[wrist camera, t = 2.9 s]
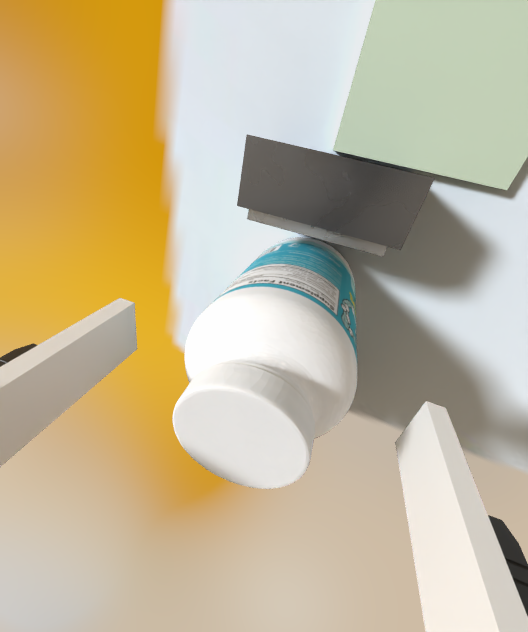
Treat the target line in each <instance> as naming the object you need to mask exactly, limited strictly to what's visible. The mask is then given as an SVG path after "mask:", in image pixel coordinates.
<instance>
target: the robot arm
mask: <svg viewBox="0 0 528 632" xmlns="http://www.w3.org/2000/svg"><path fill="white" fill-rule="evenodd" d="M135 350H137V339H136V322H135V303H133V302H130V301H127V300H125V299H121V298H119V299H117V300H115V301H114V302H112V303H110V304H109V305H107V306H105V307H103V308H102V309H100V310H98V311H96V312H95V313H93V314H91V315H89V316H88V317H86V318H85V319H83V320H81V321H79V322H77V323H76V324H74V325H72V326H70V327H69V328H67V329H65V330H64V331H62V332H60V333H58V334H57V335H55V336H53V337H52V338H50V339H48V340H46V341H44V342H43V343H41V344H39V345H36V344H31V345H27V346H25V347H21V348H18V349H15V350H13V351H11V352H10V353H8V354H6V355H4V356H2V357H1V358H0V467H1V466H2V465H3V464H4V463H6V462H7V461H8V460H9V459H10V458H11V457H12V456H14V455H15V454H16V453H17V452H18V451H19V450H21V449H22V448H23V447H24V446H25V445H26V444H28V443H29V442H30V441H31V440H32V439H33V438H34V437H36V436H37V435H38V434H39V433H40V432H41V431H43V430H44V429H45V428H46V427H47V426H48V425H49V424H51V423H52V422H53V421H54V420H55V419H57V418H58V417H59V416H60V415H61V414H62V413H63V412H65V411H66V410H67V409H68V408H69V407H70V406H72V405H73V404H74V403H75V402H76V401H77V400H78V399H80V398H81V397H82V396H83V395H84V394H86V393H87V392H88V391H89V390H90V389H91V388H92V387H94V386H95V385H96V384H97V383H98V382H99V381H101V380H102V379H103V378H104V377H105V376H106V375H108V374H109V373H110V372H111V371H112V370H113V369H115V368H116V367H117V366H118V365H119V364H120V363H121V362H123V361H124V360H125V359H126V358H127V357H128V356H129V355H131V354H132V353H133V352H134V351H135ZM395 444H396V449H397V456H398V462H399V468H400V474H401V481H402V487H403V494H404V500H405V506H406V512H407V518H408V524H409V530H410V537H411V544H412V550H413V556H414V561H415V568H416V575H417V581H418V587H419V593H420V600H421V606H422V612H423V618H424V625H425V631H426V632H528V564H527V562H526V559H525V557H524V555H523V552H522V550H521V548H520V546H519V543H518V542H517V541H516V539H515V538H514V536H513V535H512V534H511V532H510V531H509V529H508V528H507V526H506V525H505V524H504V522H503V521H502V520H500V519H497V518H494V517H491V516H489V515H488V514H487V512H486V509H485V507H484V504H483V501H482V499H481V496H480V494H479V491H478V489H477V486H476V484H475V481H474V478H473V476H472V473H471V471H470V468H469V466H468V463H467V461H466V458H465V455H464V453H463V450H462V448H461V445H460V443H459V440H458V437H457V435H456V432H455V430H454V427H453V425H452V422H451V420H450V417H449V414H448V412H447V409H446V408H445V407H442V406H439V405H436V404H433V403H430V402H427V401H426V402H425V403H424V404H423V406H422V407H421V408H420V410H419V411H418V412H417V414H416V415H415V416H414V418H413V419H412V421H411V422H410V423H409V425H408V426H407V427H406V429H405V430H404V431H403V433H402V434H401V435H400V437H399V438H398V439H397V441H396V442H395Z"/></svg>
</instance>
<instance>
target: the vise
mask: <svg viewBox="0 0 528 632" xmlns="http://www.w3.org/2000/svg"><path fill="white" fill-rule="evenodd" d="M433 180H434V178H432V177H428V176H424V175H419V174H415V173H411V172H406V171H402V170H398V169H394V168H389V167H385V166H381V165H376V164H372V163H368V162H363V161H359V160H355V159H350V158H346V157H342V156H337V155H333V154H329V153H325V152H320V151H316V150H312V149H307V148H303V147H299V146H294V145H290V144H286V143H281V142H277V141H273V140H268V139H264V138H260V137H256V136H251V135H247V137H246V144H245V152H244V159H243V166H242V174H241V181H240V189H239V196H238V203H237V206H240V207H244V208H247V209H249V212H248V218H247V219H249V220H252V221H256V222H259V223H263V224H267V225H270V226H274V227H277V228H281V229H285V230H288V231H292V232H296V233H299V234H303V235H306V236H310V237H314V238H317V239H321V240H324V241H328V242H332V243H335V244H339V245H342V246H346V247H350V248H353V249H357V250H361V251H364V252H368V253H371V254H375V255H379V256H382V257H383V256H384V254H385V251H386V249H387V247H391V248H395V249H399V250H401V248H402V246H403V243H404V241H405V239H406V237H407V235H408V233H409V231H410V229H411V227H412V225H413V222H414V220H415V218H416V216H417V214H418V212H419V210H420V208H421V206H422V204H423V201H424V199H425V197H426V195H427V193H428V191H429V189H430V187H431V185H432V183H433Z"/></svg>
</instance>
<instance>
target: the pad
mask: <svg viewBox="0 0 528 632" xmlns="http://www.w3.org/2000/svg"><path fill="white" fill-rule="evenodd" d="M333 151H337V152H342V153H346V154H351V155H355V156H359V157H364V158H368V159H372V160H377V161H381V162H385V163H390V164H394V165H398V166H403V167H407V168H411V169H416V170H420V171H424V172H429V173H433V174H438V175H442V176H446V177H451V178H455V179H459V180H464V181H468V182H472V183H477V184H481V185H485V186H490V187H494V188H498V189H503V190H508V188H509V186H510V185H511V183H512V181H513V180H514V178H515V177H516V175H517V173H518V172H519V170H520V168H521V167H522V165H523V164H524V162H525V160H526V159H527V157H528V0H376V1H375V4H374V8H373V11H372V15H371V18H370V22H369V25H368V29H367V32H366V36H365V39H364V43H363V46H362V50H361V54H360V57H359V61H358V64H357V68H356V71H355V75H354V78H353V82H352V85H351V89H350V92H349V96H348V99H347V103H346V106H345V110H344V113H343V117H342V121H341V124H340V128H339V131H338V135H337V138H336V142H335V145H334V149H333Z"/></svg>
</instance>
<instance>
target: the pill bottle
mask: <svg viewBox="0 0 528 632" xmlns="http://www.w3.org/2000/svg"><path fill="white" fill-rule="evenodd" d="M185 367H186V372H187V376H188V380H189V382H190V384H189V385H188V387H187V388H186V390H185V391H184V393H183V394H182V396H181V397H180V398H179V400H178V402H177V403H176V405H175V408H174V412H173V426H174V431H175V433H176V436H177V438H178V440H179V442H180V443H181V445H182V446H183V448H184V449H185V450H186V451H187V453H188V454H189V455H190V456H191V457H192V458H193V459H194V460H195V461H197V462H198V463H199V464H200V465H202V466H203V467H205V468H206V469H207V470H209V471H210V472H212V473H214V474H215V475H217V476H219V477H221V478H223V479H226V480H228V481H230V482H233V483H236V484H239V485H243V486H248V487H252V488H264V489H271V488H280V487H283V486H287V485H289V484H292V483H294V482H295V481H297V480H298V479H300V478H301V477H302V476H303V475H304V473H305V472H306V470H307V468H308V466H309V463H310V459H311V453H312V447H313V441H314V439H315V438H317V437H320V436H322V435H324V434H326V433H327V432H328V431H330V430H331V429H333V428H334V427H335V426H336V425H337V424H338V423H339V422H340V421H341V420H342V419H343V417H344V416H345V415H346V413H347V412H348V410H349V408H350V406H351V404H352V402H353V399H354V396H355V393H356V388H357V338H356V293H355V281H354V277H353V274H352V271H351V269H350V266H349V265H348V263H347V261H346V260H345V259H344V257H343V256H342V255H341V254H340V253H339V252H338V251H337V250H335V249H334V248H333V247H331V246H330V245H328V244H326V243H324V242H322V241H319V240H316V239H312V238H303V237H297V238H289V239H285V240H282V241H280V242H278V243H276V244H274V245H272V246H270V247H269V248H268V249H266V250H265V251H264V252H263V253H262V254H261V255H260V256H259V257H258V258H257V259H256V260H255V261H254V262H253V263H252V264H251V265H250V266H249V267H248V268H247V269H246V270H245V271H244V272H243V273H242V274H241V275H240V276H239V277H238V278H237V279H236V280H235V281H234V282H233V283H232V284H231V285H230V286H229V287H228V288H227V289H226V290H225V291H224V292H223V293H222V294H220V296H219V297H218V298H217V299H215V300H214V301H213V303H211V304H210V305H209V306H208V307H207V309H206V310H205V311H204V312H203V313H202V314H201V315H200V316H199V317H198V319H197V320H196V321H195V323H194V324H193V326H192V328H191V331H190V333H189V335H188V338H187V342H186V347H185Z"/></svg>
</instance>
